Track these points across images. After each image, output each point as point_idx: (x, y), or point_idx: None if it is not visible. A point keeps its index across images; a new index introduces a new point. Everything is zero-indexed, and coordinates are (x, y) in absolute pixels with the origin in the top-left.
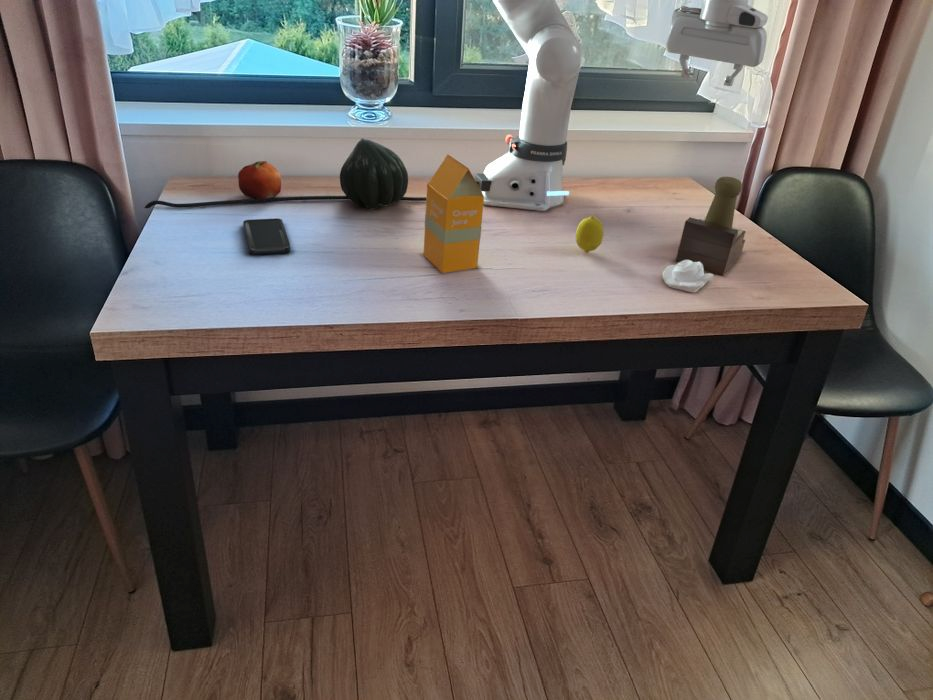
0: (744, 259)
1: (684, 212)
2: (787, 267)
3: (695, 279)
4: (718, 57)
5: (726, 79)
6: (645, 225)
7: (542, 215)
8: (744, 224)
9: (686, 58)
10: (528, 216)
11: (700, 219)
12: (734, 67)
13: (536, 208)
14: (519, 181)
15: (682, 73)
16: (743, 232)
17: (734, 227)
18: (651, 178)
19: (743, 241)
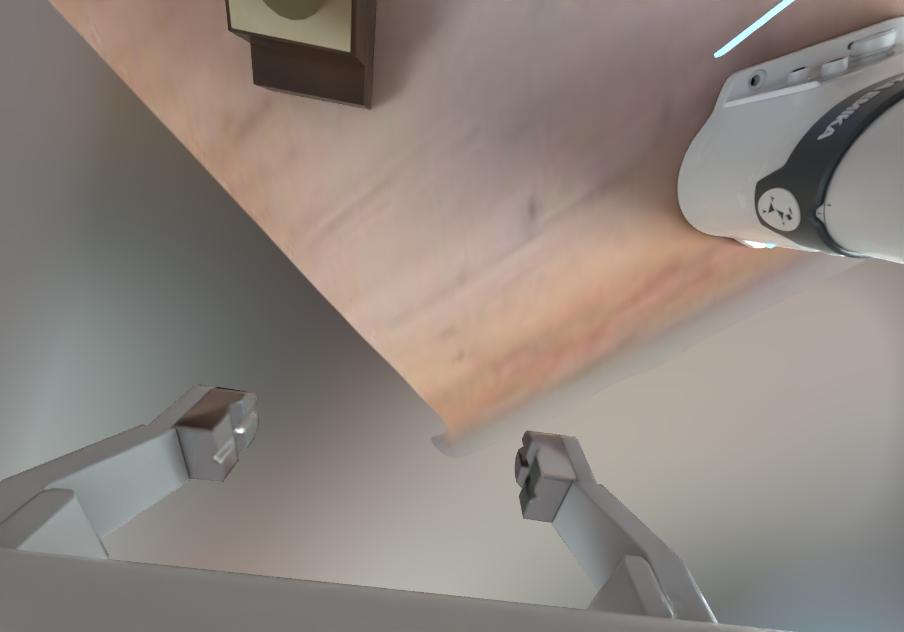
0: None
1: (426, 269)
2: (165, 59)
3: None
4: (187, 622)
5: (214, 416)
6: (487, 138)
7: None
8: (313, 270)
9: (621, 590)
10: None
11: (348, 41)
12: (48, 511)
13: (754, 66)
14: (868, 63)
15: (577, 451)
16: (228, 10)
17: (256, 31)
18: (509, 406)
19: (253, 68)
